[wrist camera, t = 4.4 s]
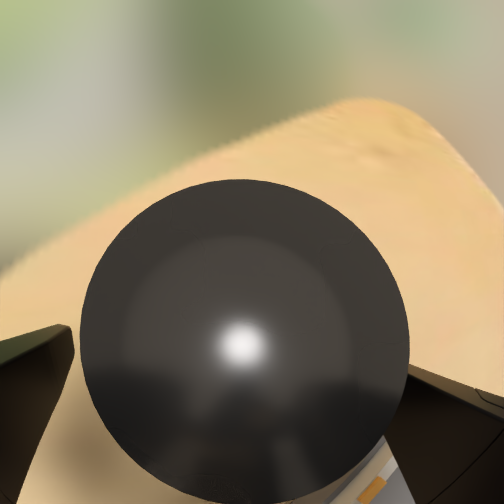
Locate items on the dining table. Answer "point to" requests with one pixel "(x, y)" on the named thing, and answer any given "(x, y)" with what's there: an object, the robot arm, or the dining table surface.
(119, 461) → the dining table surface
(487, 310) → the dining table surface
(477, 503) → the robot arm
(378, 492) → the shallow square tray
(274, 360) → the dark tapered cup
